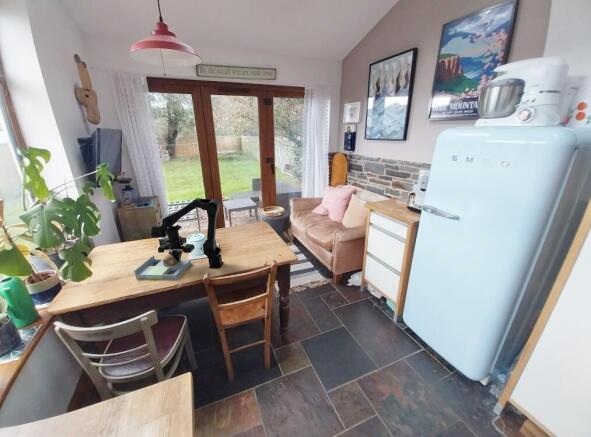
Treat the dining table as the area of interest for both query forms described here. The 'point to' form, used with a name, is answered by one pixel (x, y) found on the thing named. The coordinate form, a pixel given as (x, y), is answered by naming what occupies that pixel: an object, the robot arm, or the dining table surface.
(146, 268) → the box
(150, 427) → the dining table surface
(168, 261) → the walnut block
